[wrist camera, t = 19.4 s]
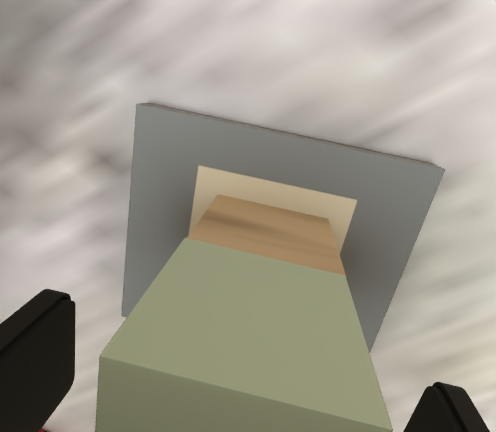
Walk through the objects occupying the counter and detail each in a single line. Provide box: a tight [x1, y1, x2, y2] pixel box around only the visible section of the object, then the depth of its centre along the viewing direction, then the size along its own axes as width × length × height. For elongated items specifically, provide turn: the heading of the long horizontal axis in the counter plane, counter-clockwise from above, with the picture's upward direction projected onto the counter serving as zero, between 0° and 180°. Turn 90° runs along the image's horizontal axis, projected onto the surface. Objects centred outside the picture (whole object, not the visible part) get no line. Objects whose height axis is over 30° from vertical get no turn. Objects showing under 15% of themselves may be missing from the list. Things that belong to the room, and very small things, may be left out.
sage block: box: [95, 238, 393, 432], centre depth 9 cm, size 5×5×5 cm
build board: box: [122, 103, 445, 353], centre depth 16 cm, size 11×13×1 cm
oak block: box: [187, 194, 346, 276], centre depth 14 cm, size 5×5×5 cm
